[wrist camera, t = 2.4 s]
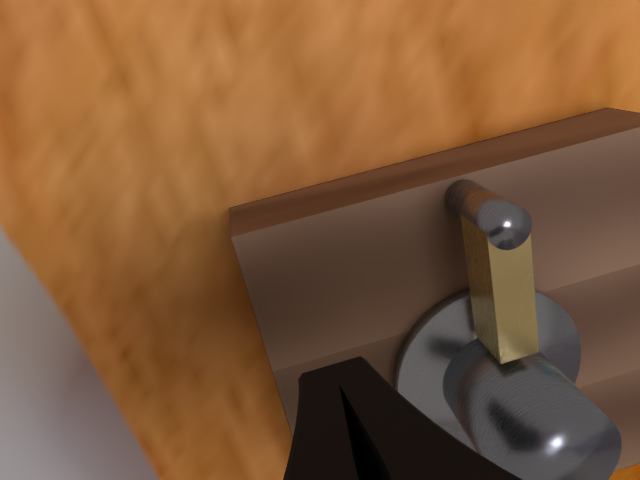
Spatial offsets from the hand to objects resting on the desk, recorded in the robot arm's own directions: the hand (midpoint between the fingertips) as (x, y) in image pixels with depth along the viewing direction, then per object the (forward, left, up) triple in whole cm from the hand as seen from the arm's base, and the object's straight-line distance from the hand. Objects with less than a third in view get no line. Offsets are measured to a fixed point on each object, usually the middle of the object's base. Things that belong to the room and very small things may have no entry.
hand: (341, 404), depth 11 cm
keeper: (+1, -5, -4) cm, 6 cm away
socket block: (-3, -5, -6) cm, 8 cm away
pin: (-3, -5, -6) cm, 8 cm away
